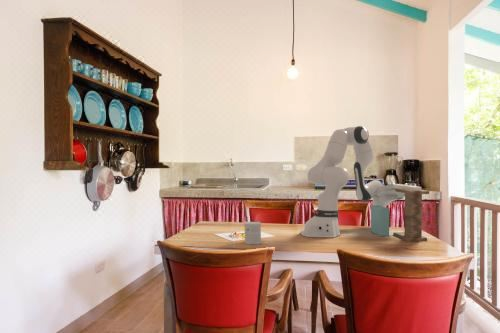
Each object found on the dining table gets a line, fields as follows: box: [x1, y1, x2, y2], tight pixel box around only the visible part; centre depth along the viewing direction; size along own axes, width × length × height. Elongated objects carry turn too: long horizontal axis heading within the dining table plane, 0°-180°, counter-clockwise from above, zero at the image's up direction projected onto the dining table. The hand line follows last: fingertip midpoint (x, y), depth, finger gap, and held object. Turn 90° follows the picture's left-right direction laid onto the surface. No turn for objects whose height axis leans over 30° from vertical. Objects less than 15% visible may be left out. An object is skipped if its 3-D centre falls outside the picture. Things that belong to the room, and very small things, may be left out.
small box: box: [244, 221, 262, 245], centre depth 167 cm, size 8×6×10 cm
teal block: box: [370, 204, 390, 237], centre depth 189 cm, size 5×12×16 cm, turn 5°
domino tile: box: [392, 183, 422, 191], centre depth 182 cm, size 4×22×2 cm, turn 5°
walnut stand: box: [392, 189, 430, 242], centre depth 177 cm, size 11×16×26 cm
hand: (399, 184), depth 188 cm, fingers open, 8 cm apart
